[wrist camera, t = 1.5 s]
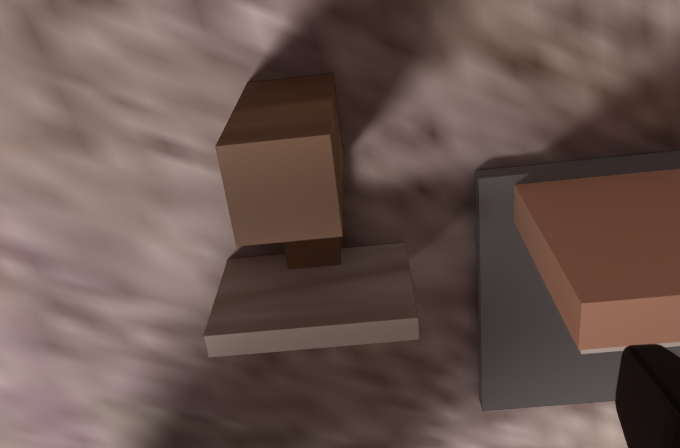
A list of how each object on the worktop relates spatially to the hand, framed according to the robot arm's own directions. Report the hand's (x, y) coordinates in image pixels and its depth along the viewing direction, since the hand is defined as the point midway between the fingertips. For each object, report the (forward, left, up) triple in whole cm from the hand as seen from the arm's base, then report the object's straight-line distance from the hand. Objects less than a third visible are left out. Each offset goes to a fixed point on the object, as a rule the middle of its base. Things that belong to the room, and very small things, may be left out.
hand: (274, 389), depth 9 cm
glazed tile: (+9, -3, -11) cm, 14 cm away
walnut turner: (0, -2, -11) cm, 11 cm away
